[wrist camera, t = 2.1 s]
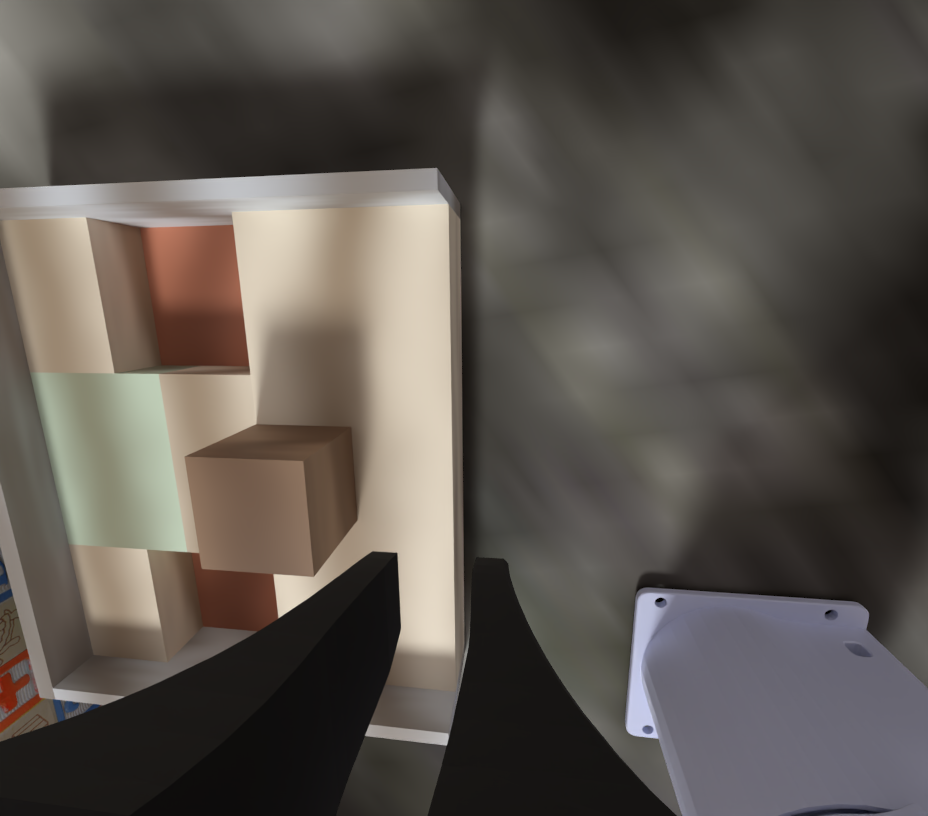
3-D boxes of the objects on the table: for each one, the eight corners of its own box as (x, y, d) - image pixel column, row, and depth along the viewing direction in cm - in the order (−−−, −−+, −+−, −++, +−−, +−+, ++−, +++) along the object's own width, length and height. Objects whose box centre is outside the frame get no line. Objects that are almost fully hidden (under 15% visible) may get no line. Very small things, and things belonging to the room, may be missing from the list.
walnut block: (351, 426, 18) (302, 461, 14) (357, 520, 19) (313, 576, 15) (256, 424, 18) (184, 456, 14) (266, 515, 19) (201, 568, 15)
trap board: (460, 203, 18) (437, 167, 13) (464, 652, 23) (448, 745, 18) (51, 218, 21) (-93, 193, 16) (132, 622, 25) (40, 697, 21)
